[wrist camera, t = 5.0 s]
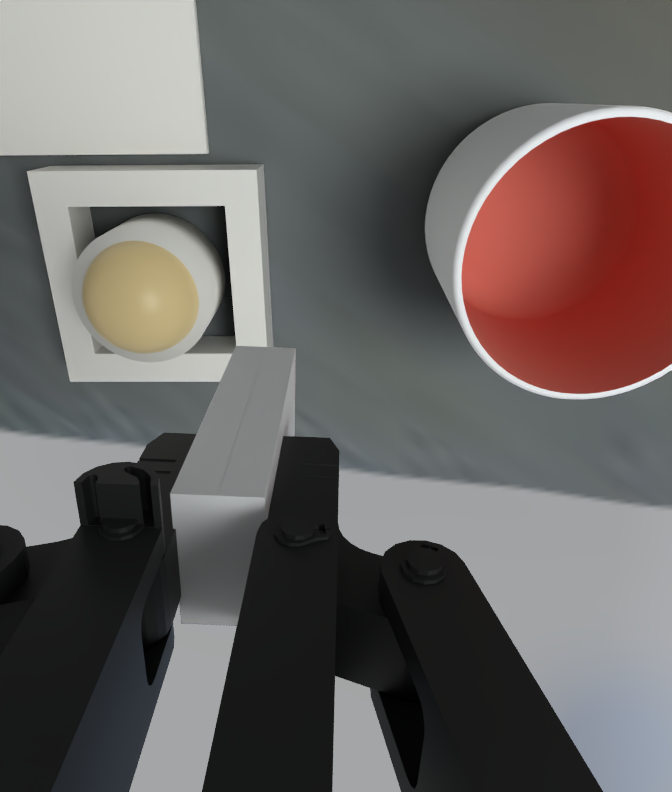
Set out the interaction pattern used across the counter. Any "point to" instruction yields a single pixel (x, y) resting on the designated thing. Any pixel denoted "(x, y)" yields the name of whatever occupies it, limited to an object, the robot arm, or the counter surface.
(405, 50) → the counter surface
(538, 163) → the cup
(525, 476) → the counter surface
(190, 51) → the pad
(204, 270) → the dome
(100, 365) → the dome base
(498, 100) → the counter surface
